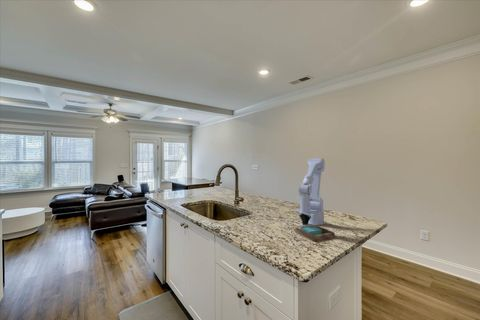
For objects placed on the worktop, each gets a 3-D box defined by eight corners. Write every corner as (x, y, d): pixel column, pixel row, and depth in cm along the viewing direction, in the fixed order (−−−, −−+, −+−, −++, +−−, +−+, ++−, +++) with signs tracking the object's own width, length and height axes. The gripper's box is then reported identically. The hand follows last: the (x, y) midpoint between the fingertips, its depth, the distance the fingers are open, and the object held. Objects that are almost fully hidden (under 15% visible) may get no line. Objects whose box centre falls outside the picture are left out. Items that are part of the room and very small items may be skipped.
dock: (314, 228, 128) (314, 224, 128) (334, 237, 114) (334, 232, 114) (295, 231, 122) (295, 227, 122) (313, 241, 108) (313, 236, 108)
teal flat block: (312, 230, 126) (312, 223, 126) (322, 234, 119) (322, 227, 118) (299, 232, 122) (299, 225, 122) (309, 237, 115) (309, 230, 115)
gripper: (292, 202, 130) (292, 223, 130) (308, 207, 117) (308, 231, 117) (301, 201, 133) (301, 222, 133) (318, 206, 120) (317, 229, 120)
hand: (305, 226), depth 125 cm, fingers closed
